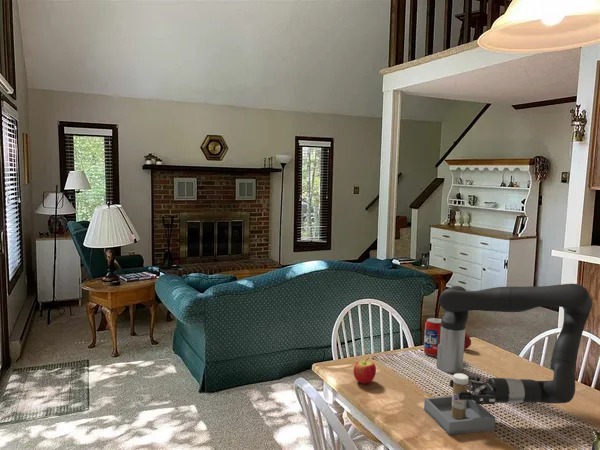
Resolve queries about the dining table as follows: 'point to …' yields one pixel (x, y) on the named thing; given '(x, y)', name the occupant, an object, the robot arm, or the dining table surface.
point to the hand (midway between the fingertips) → (454, 389)
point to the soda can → (432, 336)
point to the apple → (364, 371)
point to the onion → (467, 341)
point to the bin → (473, 421)
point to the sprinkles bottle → (457, 404)
